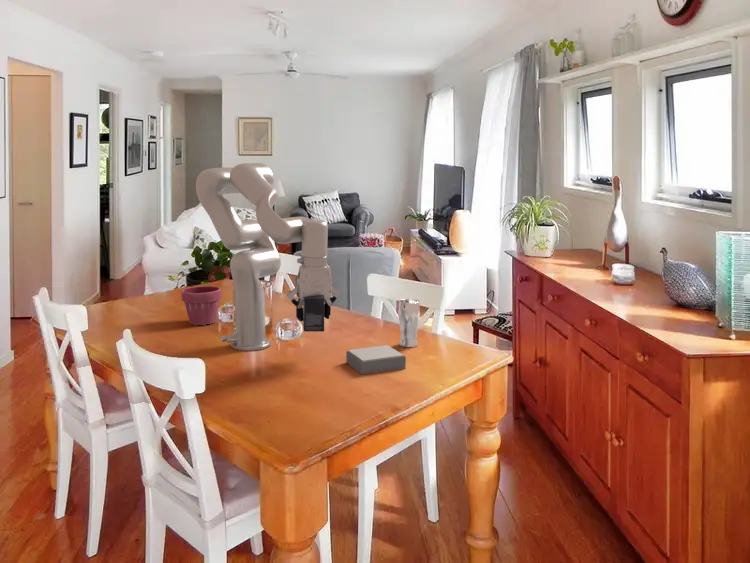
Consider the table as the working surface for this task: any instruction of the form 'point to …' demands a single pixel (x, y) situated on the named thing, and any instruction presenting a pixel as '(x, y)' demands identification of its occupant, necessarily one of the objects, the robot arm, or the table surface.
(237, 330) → the robot arm
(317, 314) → the small box
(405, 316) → the beer glass
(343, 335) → the table surface
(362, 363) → the block
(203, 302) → the plant pot
